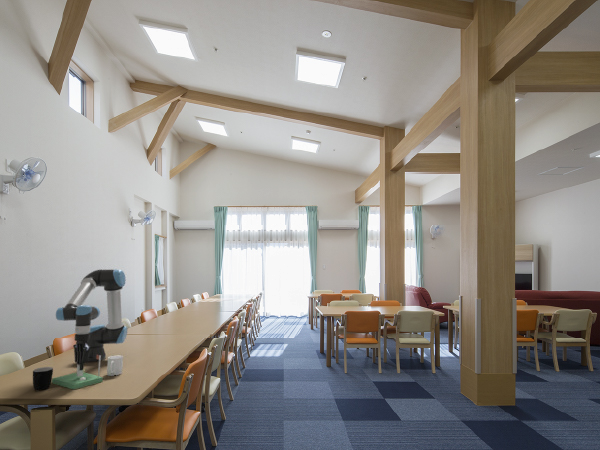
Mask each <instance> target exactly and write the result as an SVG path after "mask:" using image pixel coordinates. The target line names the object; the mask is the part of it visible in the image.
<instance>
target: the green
mask: <svg viewBox="0 0 600 450" xmlns="http://www.w3.org/2000/svg"><path fill="white" fill-rule="evenodd" d="M100 357H101V356H98V355H97V358H96V359H99V361H98V371H97V373H98V374H97V375H96V374H91V373H88V372H84V373H83V376H79V377H77V372H74V373H68V374H66V375H61V376H57V377H52V380H51V384H54V385H57V386H61V387H64V388H68V389H69V390H70V389H71V390H73V391H74V390H77V389H81V388H84V387H87V386H92V385H95V384H99V383H103V380H104V379H103V378H104V377H103V376H100V373H101V360H100ZM82 377H85V378H86V380H79V379H80V378H82Z"/></svg>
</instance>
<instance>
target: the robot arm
mask: <svg viewBox="0 0 600 450" xmlns="http://www.w3.org/2000/svg"><path fill="white" fill-rule="evenodd" d="M126 280H127V279H126V274H125V272H124V271H123V270H122V269H117V268H116V269H96V270H94V271H91V272H90V273H87V274H86V275H85V276H84V277H83V279H81V281H80V285H79V286H78V288H77V290H76V291H75V292H74V293H73V295H72V296H71V297H70V299H69V300H68V302H67V304H66V305H65V306H64V307H58V308H57V310H56V312H55V319H56V320H57V321H75V328H74V342H75V343H76V344H73V352H74V354H73V355H74V363H76V373H77V377H79V376H83V368H84V367H85V364H86V363H92V362H93V363H94V362H99V359H96V358H97V355H98V356H101V357H100V361H103V360H106V357H107V356H106V352H105V349H104V346H105V345H113V344H114V345H115V344H116V345H118V344H123V343H124V342H125V341H126V339H127V336H128V327H127V326H126V325H125V323H124V322H123V321H122V299H121V298H122V297H121V296H122V295H121V291H122V290H123V287H124V286H125V284H126ZM97 287H100V288H101V287H103V290H104V292H106V303H107V305H106V306H107V307H106V308H107V324H98V325H97V324H96V325H92V326H91V323H92V321H94V320H95V319H97V318H99V317H100V314H101V311H100V309H99V308H98V307H97V306H91V305H90V304H86V305H85V304H84V302H85V301H86V300H87V298H88V296H89V295H90V294H91V292H92V291H93V290H95V289H96V288H97ZM83 304H84V305H83ZM84 369H85V368H84Z"/></svg>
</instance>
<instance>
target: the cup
mask: <svg viewBox="0 0 600 450" xmlns="http://www.w3.org/2000/svg"><path fill="white" fill-rule="evenodd" d="M123 361H124V356H123V355H120V354H118V355H111V356H108V357H107V369H106V375H107V376H109V377H113V376H114V375H116V376H120V375H121V374H122V373H123V365H124V364H123ZM119 374H120V375H119Z"/></svg>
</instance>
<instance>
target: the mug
mask: <svg viewBox="0 0 600 450" xmlns="http://www.w3.org/2000/svg"><path fill="white" fill-rule="evenodd" d="M53 372H54V368H53V367H51V366H45V367H38V368H35V369H33V370H32V388H33V390H35V391H38V392H39V391H46V390H48V389H49V388H50V387H51V384H52V378H53V374H54V373H53Z"/></svg>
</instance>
